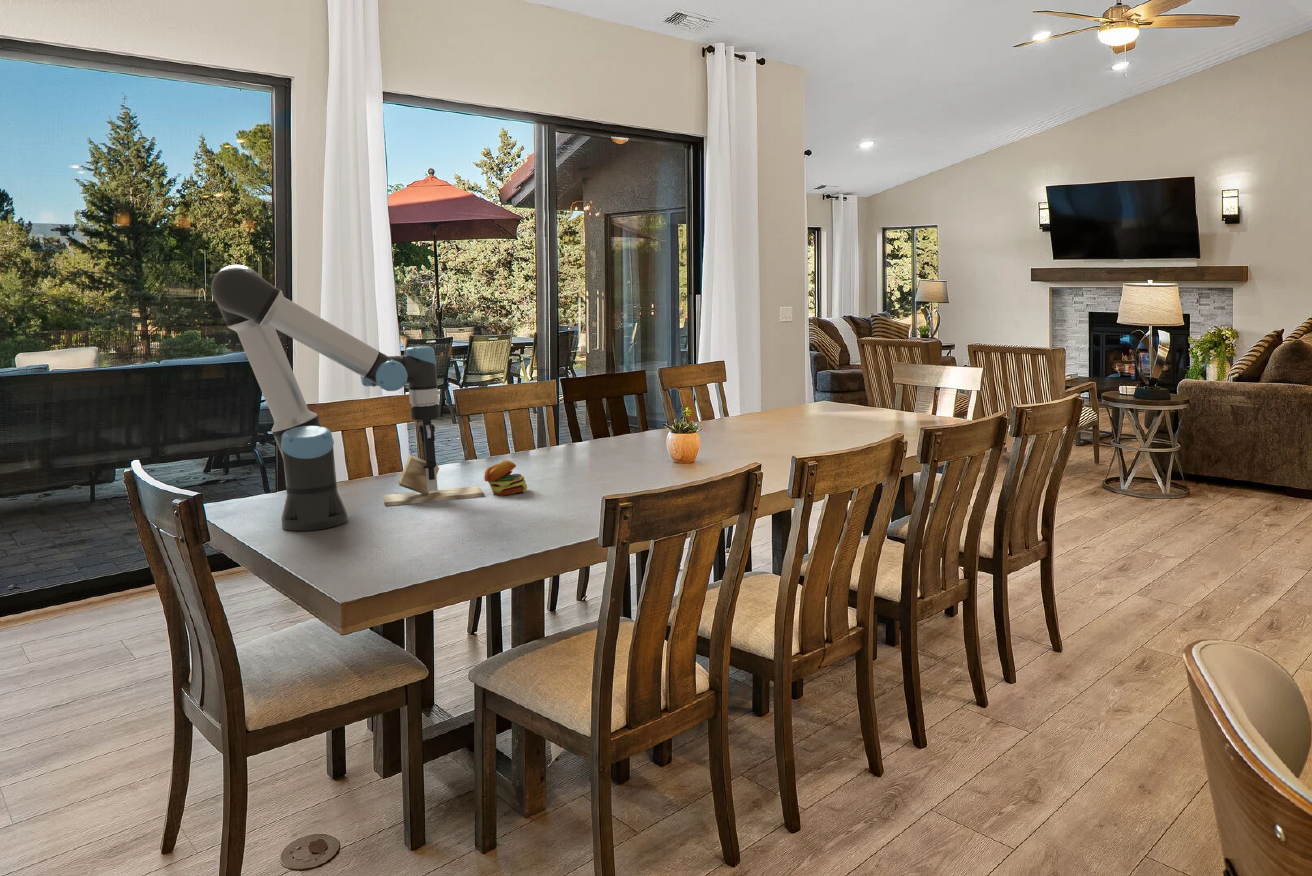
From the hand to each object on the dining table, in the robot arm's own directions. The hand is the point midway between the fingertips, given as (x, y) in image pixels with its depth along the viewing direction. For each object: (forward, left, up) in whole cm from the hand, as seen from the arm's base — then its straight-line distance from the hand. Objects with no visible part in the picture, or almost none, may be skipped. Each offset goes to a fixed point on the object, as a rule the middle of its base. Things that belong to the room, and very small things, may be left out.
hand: (431, 488), depth 251 cm
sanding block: (-5, 0, 0) cm, 5 cm away
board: (0, 0, -2) cm, 2 cm away
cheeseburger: (+20, -2, -3) cm, 20 cm away
